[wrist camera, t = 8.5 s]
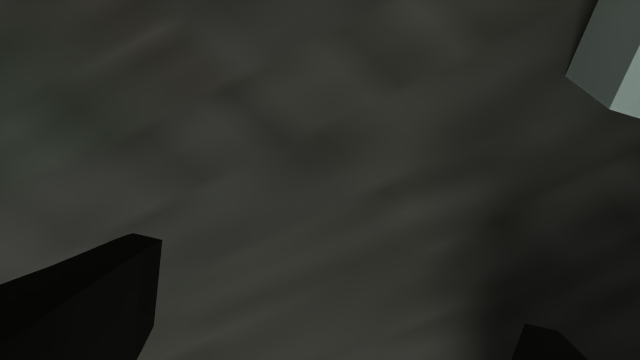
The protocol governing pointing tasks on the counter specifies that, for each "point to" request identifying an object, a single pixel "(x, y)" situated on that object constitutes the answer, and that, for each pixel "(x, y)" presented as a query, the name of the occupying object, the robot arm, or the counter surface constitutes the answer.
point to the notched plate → (611, 56)
